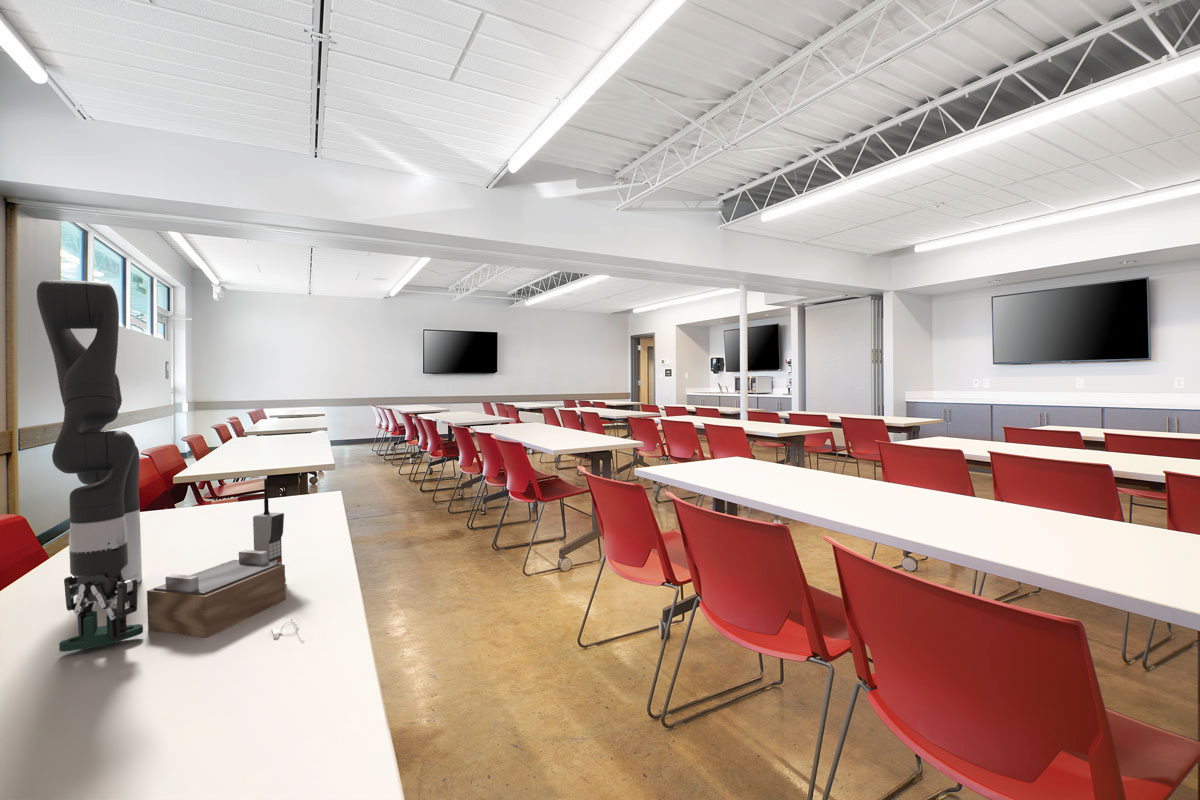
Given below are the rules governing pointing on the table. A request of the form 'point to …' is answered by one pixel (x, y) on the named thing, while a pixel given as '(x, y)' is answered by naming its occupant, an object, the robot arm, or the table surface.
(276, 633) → the picture light
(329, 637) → the table surface
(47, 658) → the table surface
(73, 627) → the table surface
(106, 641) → the mount
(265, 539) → the vintage mobile phone
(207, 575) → the tray
